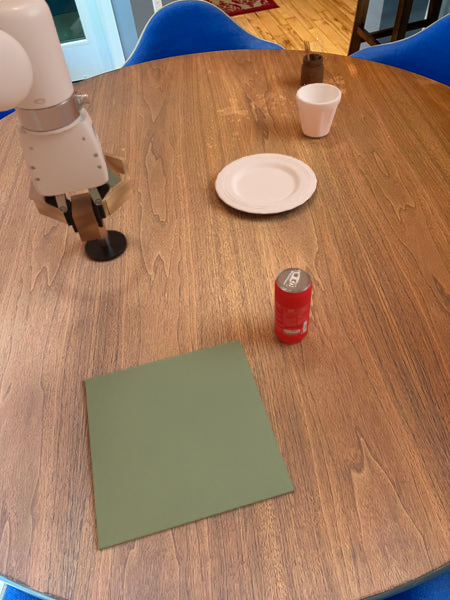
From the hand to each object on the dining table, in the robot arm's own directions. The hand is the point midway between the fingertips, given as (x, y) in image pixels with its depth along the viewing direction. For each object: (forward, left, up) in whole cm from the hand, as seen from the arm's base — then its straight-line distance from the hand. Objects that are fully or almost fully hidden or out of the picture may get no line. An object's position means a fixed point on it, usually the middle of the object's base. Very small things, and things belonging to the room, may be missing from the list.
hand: (88, 223), depth 74 cm
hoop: (0, +8, -1) cm, 8 cm away
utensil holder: (+60, +58, -14) cm, 84 cm away
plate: (+34, +18, -14) cm, 41 cm away
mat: (+6, -30, -14) cm, 34 cm away
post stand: (0, +11, -14) cm, 17 cm away
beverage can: (+26, -19, -14) cm, 36 cm away
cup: (+52, +35, -14) cm, 64 cm away
